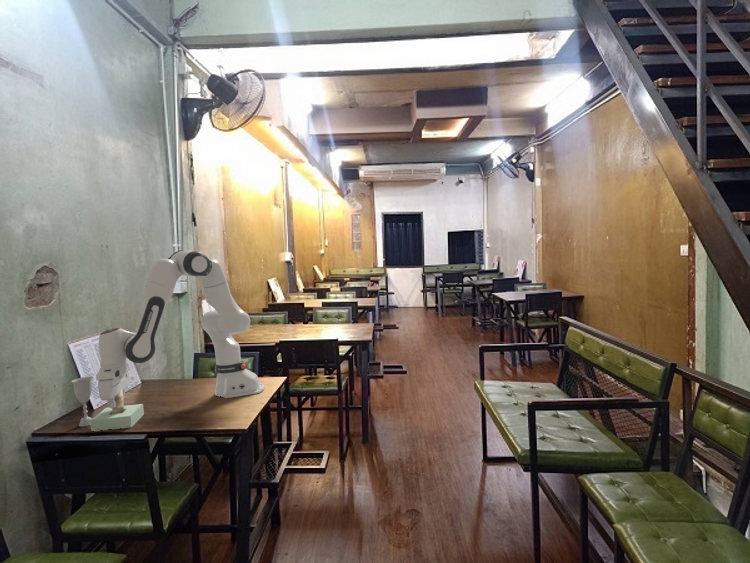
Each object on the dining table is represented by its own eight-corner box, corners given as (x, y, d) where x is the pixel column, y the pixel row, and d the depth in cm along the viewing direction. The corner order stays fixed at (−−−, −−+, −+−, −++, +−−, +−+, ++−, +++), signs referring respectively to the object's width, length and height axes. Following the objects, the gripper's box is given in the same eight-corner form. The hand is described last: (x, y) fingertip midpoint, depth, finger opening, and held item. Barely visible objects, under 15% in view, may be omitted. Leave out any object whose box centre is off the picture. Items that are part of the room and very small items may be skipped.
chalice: (82, 421, 174) (78, 377, 173) (100, 419, 175) (96, 376, 174) (71, 428, 167) (67, 382, 166) (90, 426, 168) (85, 381, 167)
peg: (126, 420, 173) (124, 388, 172) (122, 423, 169) (120, 391, 168) (115, 421, 172) (113, 389, 172) (111, 424, 168) (108, 392, 168)
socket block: (144, 414, 179) (143, 403, 178) (131, 427, 165) (130, 415, 165) (107, 418, 176) (106, 407, 176) (91, 431, 162) (90, 420, 162)
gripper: (116, 364, 179) (119, 396, 180) (93, 377, 159) (97, 413, 160) (132, 362, 180) (135, 394, 181) (112, 375, 160) (115, 411, 161)
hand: (117, 403), depth 170 cm, fingers open, 7 cm apart
